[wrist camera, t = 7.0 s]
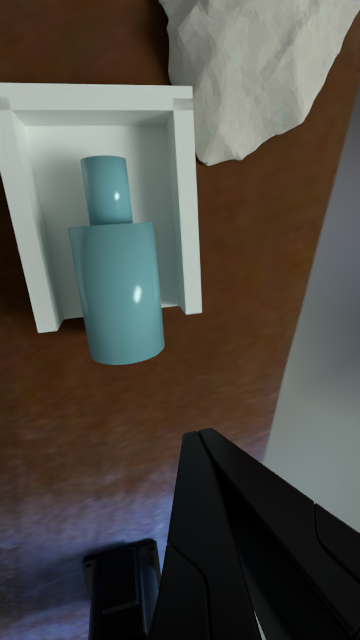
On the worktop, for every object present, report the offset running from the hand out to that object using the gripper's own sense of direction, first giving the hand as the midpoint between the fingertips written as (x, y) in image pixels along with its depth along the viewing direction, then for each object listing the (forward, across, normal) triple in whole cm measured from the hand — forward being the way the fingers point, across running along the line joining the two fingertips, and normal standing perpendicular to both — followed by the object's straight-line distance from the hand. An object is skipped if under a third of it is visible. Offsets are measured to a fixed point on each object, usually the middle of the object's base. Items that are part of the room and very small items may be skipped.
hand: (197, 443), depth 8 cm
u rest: (+13, +2, -6) cm, 14 cm away
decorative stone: (+13, -7, -16) cm, 22 cm away
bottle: (+10, +2, +1) cm, 10 cm away
